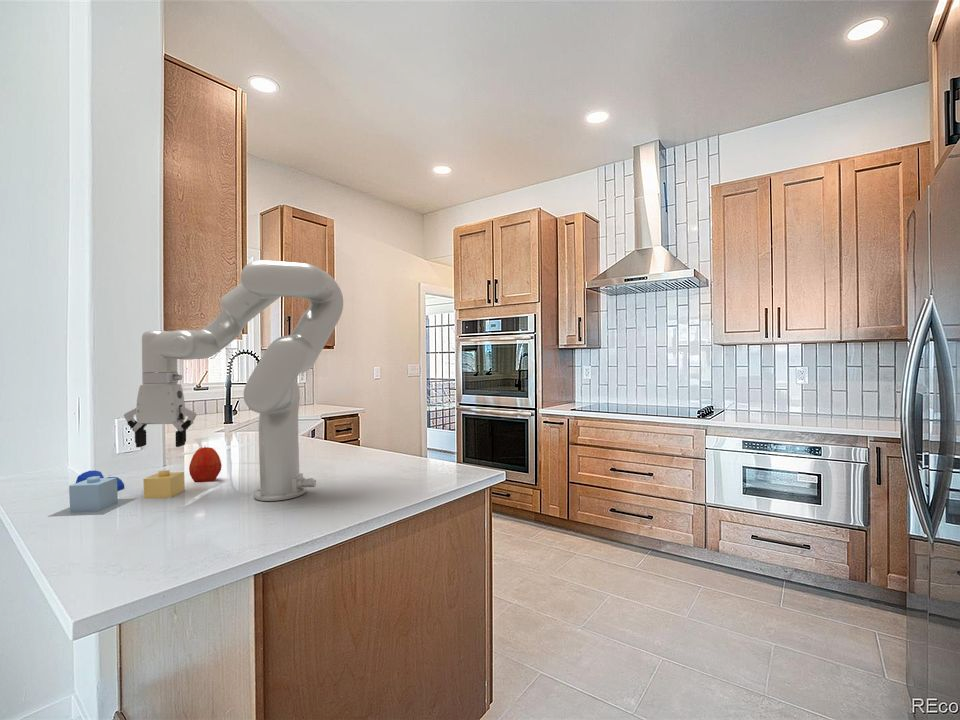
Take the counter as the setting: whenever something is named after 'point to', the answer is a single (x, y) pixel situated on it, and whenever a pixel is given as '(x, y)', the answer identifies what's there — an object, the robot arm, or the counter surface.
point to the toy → (97, 473)
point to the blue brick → (93, 494)
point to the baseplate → (67, 511)
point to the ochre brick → (163, 484)
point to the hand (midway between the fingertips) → (160, 446)
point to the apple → (205, 465)
